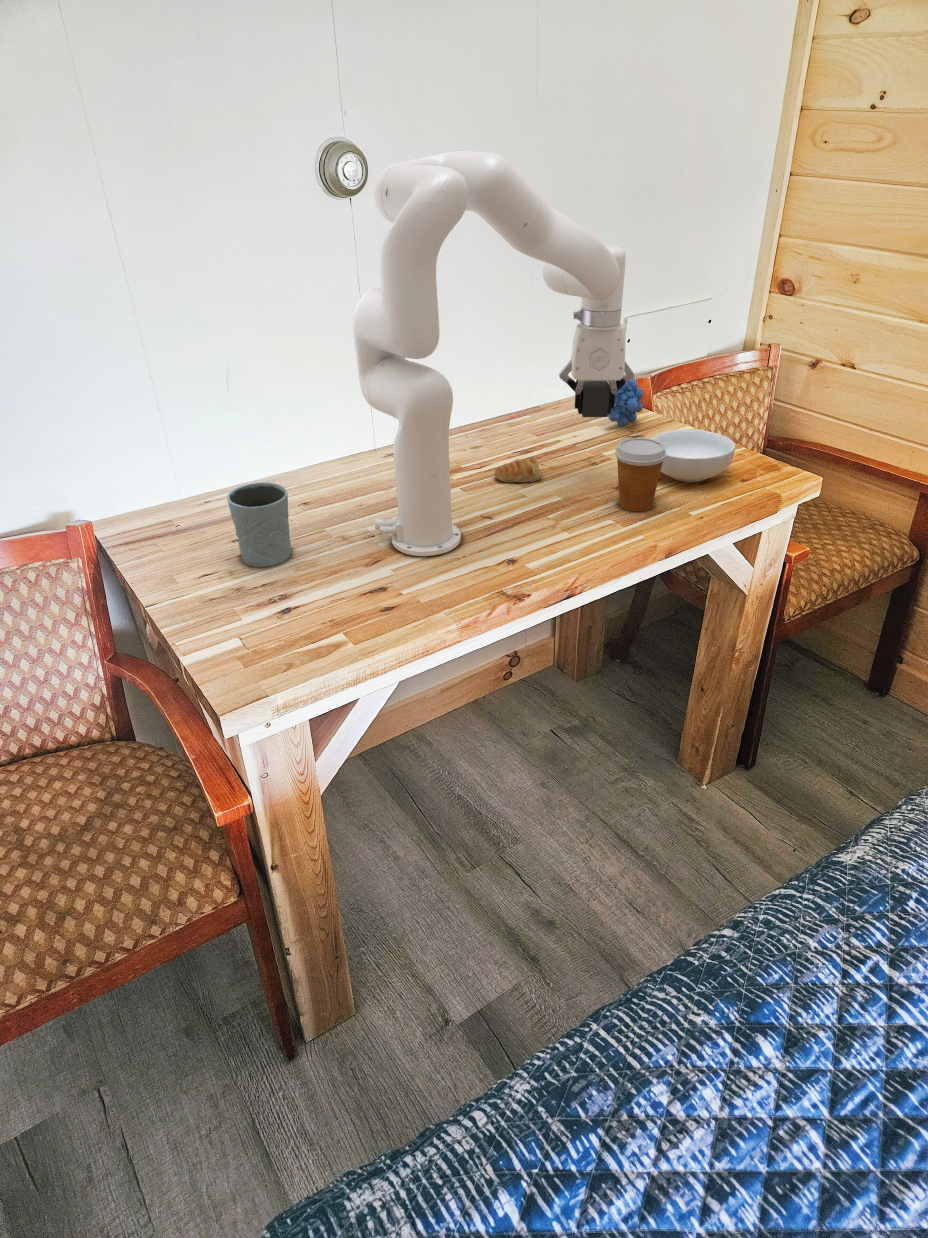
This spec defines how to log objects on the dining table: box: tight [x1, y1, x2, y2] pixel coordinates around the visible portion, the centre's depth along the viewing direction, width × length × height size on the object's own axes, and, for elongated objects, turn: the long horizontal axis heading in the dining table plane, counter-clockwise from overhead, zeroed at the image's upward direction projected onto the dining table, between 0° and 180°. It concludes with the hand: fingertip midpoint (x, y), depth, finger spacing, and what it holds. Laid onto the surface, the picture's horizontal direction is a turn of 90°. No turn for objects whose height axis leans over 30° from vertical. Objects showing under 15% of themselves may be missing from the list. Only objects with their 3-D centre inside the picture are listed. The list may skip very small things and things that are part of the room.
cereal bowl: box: [651, 429, 736, 483], centre depth 169 cm, size 17×17×7 cm
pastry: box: [494, 457, 542, 483], centre depth 171 cm, size 9×7×4 cm
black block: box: [581, 381, 610, 418], centre depth 163 cm, size 5×5×6 cm
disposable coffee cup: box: [614, 437, 667, 512], centre depth 156 cm, size 10×10×12 cm
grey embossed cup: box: [226, 482, 292, 568], centre depth 143 cm, size 10×10×12 cm
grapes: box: [607, 377, 644, 427], centre depth 192 cm, size 12×7×12 cm, turn 123°
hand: (593, 410), depth 165 cm, fingers closed on black block, 5 cm apart
